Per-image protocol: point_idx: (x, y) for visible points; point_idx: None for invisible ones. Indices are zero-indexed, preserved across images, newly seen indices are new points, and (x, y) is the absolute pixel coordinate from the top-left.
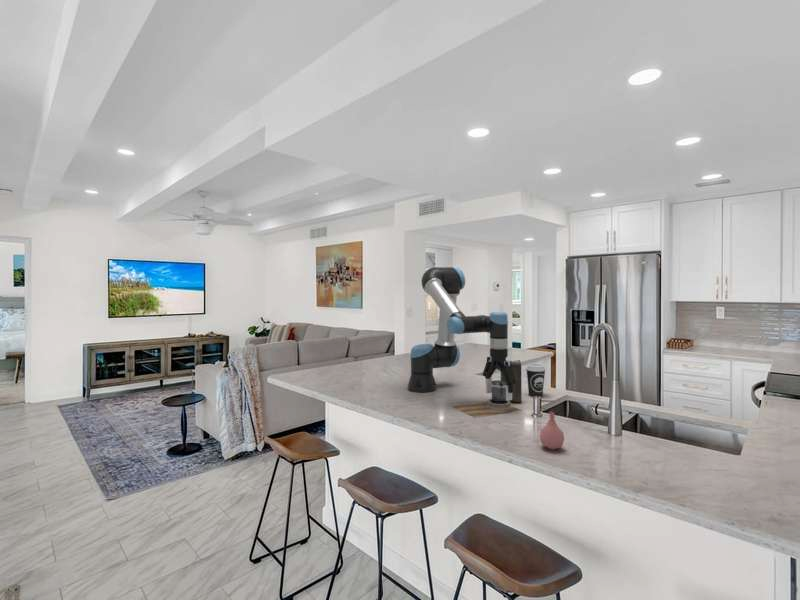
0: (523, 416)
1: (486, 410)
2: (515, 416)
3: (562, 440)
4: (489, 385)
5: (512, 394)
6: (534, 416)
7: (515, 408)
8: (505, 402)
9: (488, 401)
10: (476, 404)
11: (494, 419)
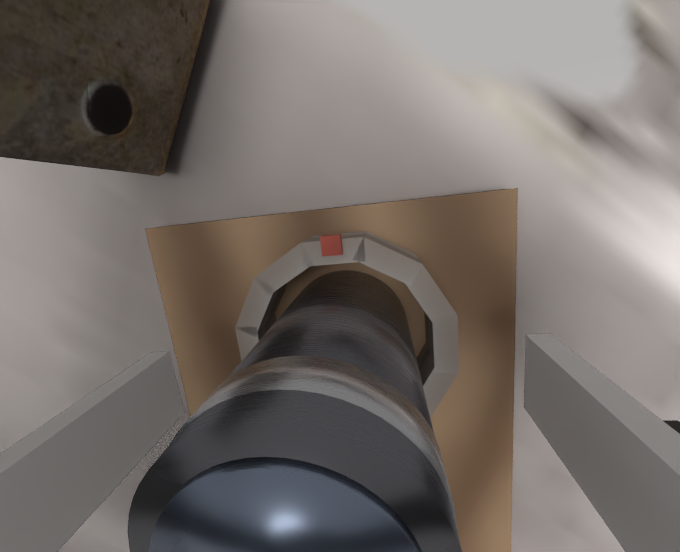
0: (572, 224)
1: None
2: (537, 286)
3: None
4: (106, 454)
5: (143, 44)
6: (626, 128)
7: (442, 216)
8: (396, 308)
9: None
10: None
11: (519, 455)
